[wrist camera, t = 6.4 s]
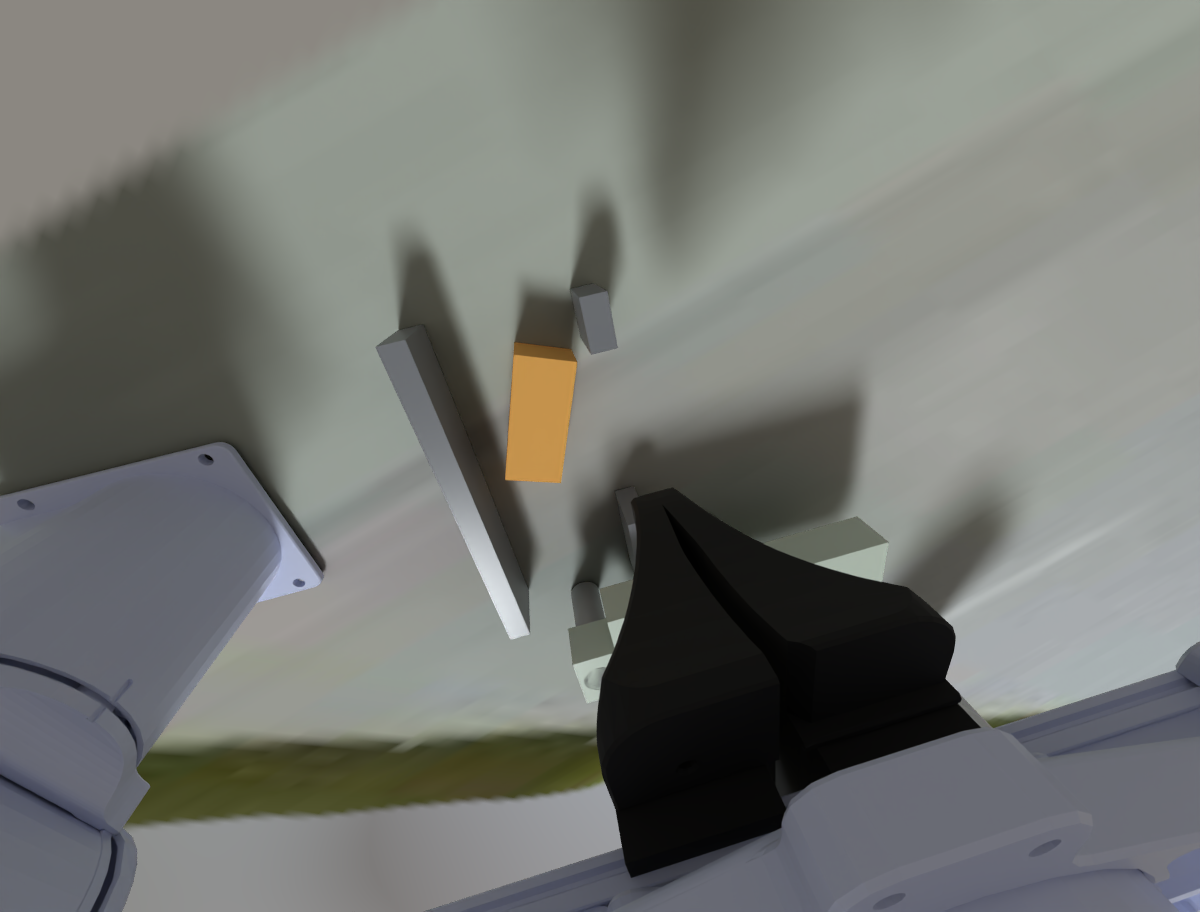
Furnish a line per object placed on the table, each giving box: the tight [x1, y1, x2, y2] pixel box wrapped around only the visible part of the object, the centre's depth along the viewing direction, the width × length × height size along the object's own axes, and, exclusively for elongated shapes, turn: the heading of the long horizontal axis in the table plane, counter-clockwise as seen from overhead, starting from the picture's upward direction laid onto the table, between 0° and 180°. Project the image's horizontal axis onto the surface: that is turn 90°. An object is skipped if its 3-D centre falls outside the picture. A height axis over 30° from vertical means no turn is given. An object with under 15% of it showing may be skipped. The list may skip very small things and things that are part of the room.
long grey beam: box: [376, 283, 638, 639], centre depth 19 cm, size 8×15×3 cm, turn 11°
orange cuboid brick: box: [505, 342, 577, 483], centre depth 18 cm, size 2×5×2 cm, turn 171°
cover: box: [568, 517, 889, 703], centre depth 22 cm, size 7×15×6 cm, turn 101°
